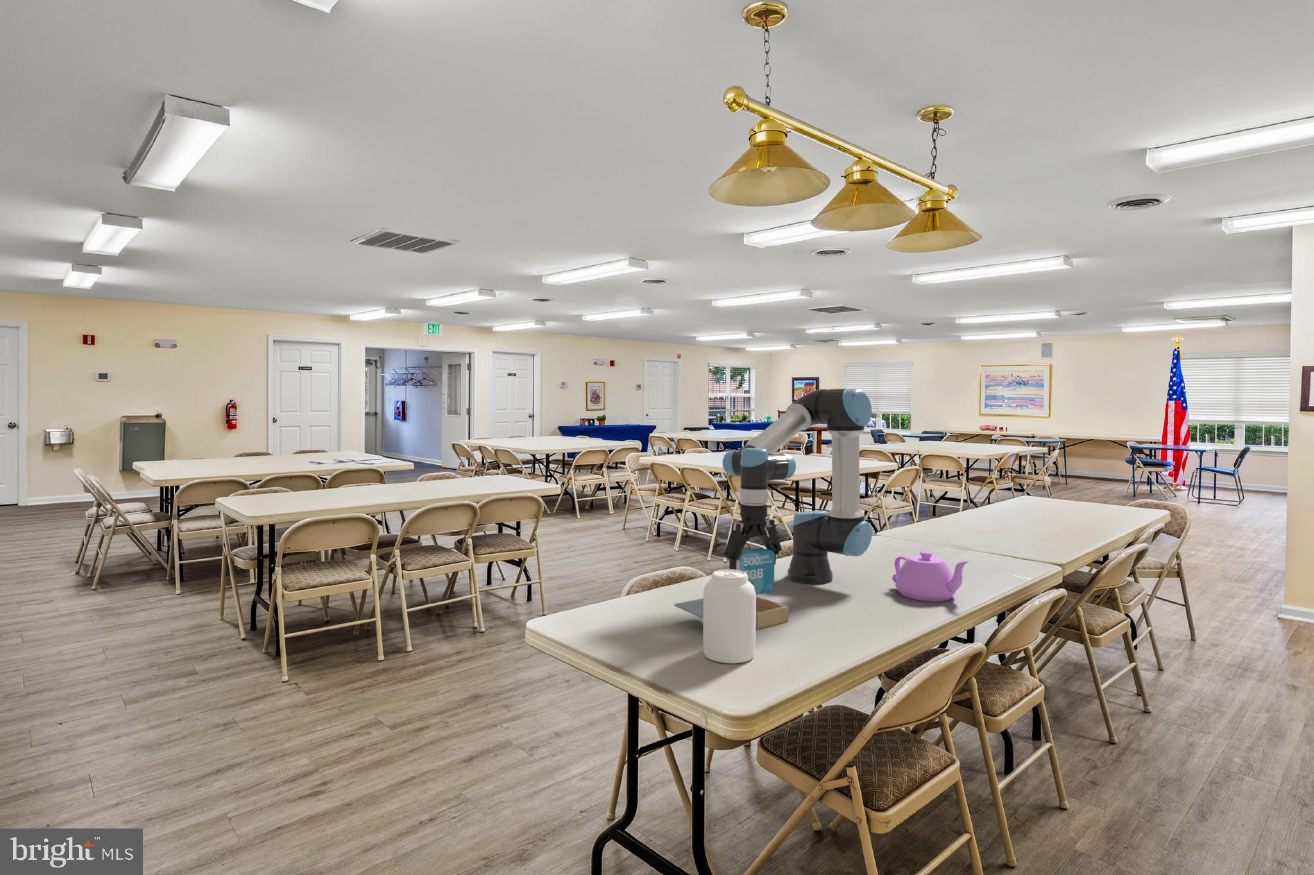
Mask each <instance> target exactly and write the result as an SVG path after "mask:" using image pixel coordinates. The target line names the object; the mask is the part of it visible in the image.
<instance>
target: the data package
mask: <svg viewBox="0 0 1314 875" xmlns="http://www.w3.org/2000/svg"><path fill="white" fill-rule="evenodd" d="M774 558H775V555H774V552H773V551H771V550H768V549H766V548H764V547H758V548H748V549H743V550H742V551H741V553H740V555H739V557H738V559H737V560H740V571H743V572H745V573H746V574H747V576H748V581H749V582H750V583H751V584H752V585H753V586H754V589H755V593H756V596H759V595H763V594H768V593H771V592H773V590H774V589H775V565H774Z"/></svg>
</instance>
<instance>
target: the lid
mask: <svg viewBox="0 0 1314 875" xmlns="http://www.w3.org/2000/svg"><path fill="white" fill-rule="evenodd" d="M673 606H674V607H676V608H678V609H681V610H682V611H684V612H687V613H689V614H692V615H694V616H696V617H698V618H700V619H702V620H703V598H698V599H692V600H687V601H683V602H678V603H677V602H676V603H674V605H673Z"/></svg>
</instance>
